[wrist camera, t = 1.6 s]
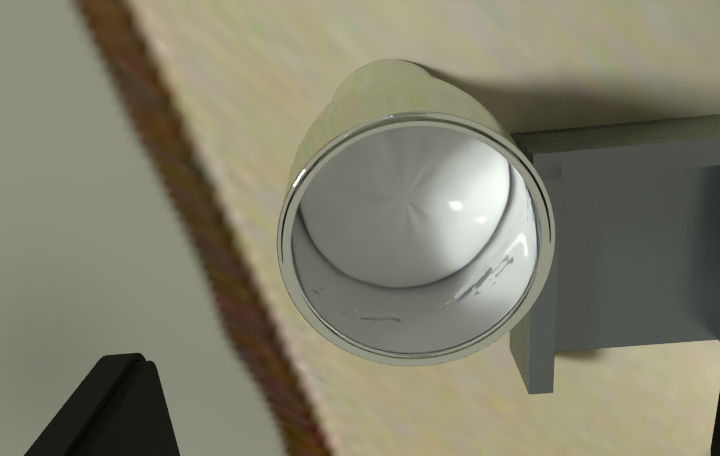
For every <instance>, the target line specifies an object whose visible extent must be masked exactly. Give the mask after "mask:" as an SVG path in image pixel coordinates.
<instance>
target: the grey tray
mask: <svg viewBox="0 0 720 456" xmlns="http://www.w3.org/2000/svg"><path fill="white" fill-rule="evenodd" d="M510 135H511V137H512V138H513V139H514V141H515V142H516V144H517V145H518V147H519V148H520V150H521V151H522V153H523V154H524V155H525V156H526V157H527V159H528V160H529V161H530V162H531V164H532V165H533V166H534V168H535V169H536V171H537V172H538V174H539V176H540V177H541V179H542V181H543V183H544V185H545V187H546V190H547V192H548V195H549V198H550V201H551V205H552V209H553V214H554V220H555V249H554V256H553V261H552V265H551V268H550V272H549V275H548V277H547V280H546V282H545V284H544V287H543V289H542V291H541V293H540V294H539V296H538V298H537V299H536V301H535V302H534V304H533V305H532V307H531V308H530V310H529V311H528V312H527V313H526V315H525V316H524V317H523V318H522V319H521V320H520V321H519V322H518V323H517V324H516V325H515V326H514V327H513V328H512V329H511V330H510V350H511V353H512V355H513V357H514V360H515V362H516V365H517V367H518V369H519V372H520V374H521V377H522V379H523V381H524V384H525V386H526V389H527V391H528V393H529V394H542V393H553V381H554V355H555V352H558V351H571V350H584V349H597V348H611V347H624V346H637V345H651V344H664V343H677V342H691V341H704V340H717V339H718V340H719V341H720V114H719V115H708V116H697V117H687V118H676V119H665V120H655V121H644V122H633V123H623V124H612V125H601V126H591V127H580V128H569V129H559V130H548V131H537V132H526V133H516V134H510Z"/></svg>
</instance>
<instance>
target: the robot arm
mask: <svg viewBox="0 0 720 456" xmlns="http://www.w3.org/2000/svg"><path fill="white" fill-rule="evenodd" d="M24 456H180V454H179V449H178V446H177V442H176V438H175V435H174V431H173V427H172V423H171V420H170V416H169V412H168V408H167V405H166V401H165V397H164V393H163V390H162V386H161V382H160V378H159V375H158V371H157V368H156V365H155V364H154V362H152V361H146V360H145V358H144V357H143V355H142V354H140V353H130V354H117V355H106V356H103V357H102V358H101V359H100V360H99V361H98V362H97V363H96V365H95V366H94V367H93V368H92V370H91V371H90V373H89V374H88V375H87V376H86V378H85V379H84V380H83V381H82V382H81V384H80V385H79V386H78V388H77V389H76V390H75V391H74V393H73V394H72V395H71V397H70V398H69V399H68V400H67V402H66V403H65V404H64V405H63V407H62V408H61V409H60V410H59V412H58V413H57V414H56V416H55V417H54V418H53V419H52V421H51V422H50V423H49V424H48V426H47V427H46V429H44V431H43V432H42V433H41V435H40V436H39V437H38V439H37V440H36V441H35V442H34V443H33V445H32V446H31V447H30V449H29V450H28V451H27V452H26V454H25V455H24ZM711 456H720V393H719V400H718V406H717V412H716V419H715V425H714V431H713V438H712V444H711Z"/></svg>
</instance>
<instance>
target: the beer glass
mask: <svg viewBox="0 0 720 456" xmlns="http://www.w3.org/2000/svg"><path fill="white" fill-rule="evenodd" d="M554 249H555V220H554V214H553V209H552V205H551V201H550V198H549V195H548V192H547V190H546V187H545V185H544V183H543V181H542V179H541V177H540V176H539V174H538V172H537V171H536V169H535V168H534V166H533V165H532V164H531V162H530V161H529V160H528V159H527V157H526V156H525V155H524V154H523V153H522V151H521V150H520V148H519V147H518V145H517V144H516V142H515V141H514V139H513V138H512V137H511V135H510V134H509V132H508V131H507V130H506V128H505V127H504V126H503V125H502V124H501V123H500V122H499V121H498V119H497V118H496V117H495V116H494V115H493V114H492V113H491V112H490V111H489V110H488V109H487V108H486V107H485V106H484V105H483V104H481V103H480V102H479V101H478V100H476V99H475V98H473V97H472V96H470V95H469V94H467V93H466V92H464V91H462V90H461V89H459V88H457V87H456V86H454V85H452V84H450V83H447V82H445V81H442V80H440V79H436V78H435V77H434V76H433V75H432V74H431V73H430V72H428V71H427V70H425V69H424V68H422V67H420V66H418V65H416V64H413V63H411V62H407V61H403V60H393V59H390V60H380V61H375V62H372V63H369V64H367V65H364V66H362V67H361V68H359V69H357V70H356V71H354V72H353V73H352V74H350V75H349V76H348V77H347V78H346V79H345V80H344V81H343V82H342V83H341V85H340V86H339V87H338V89H337V90H336V92H335V94H334V96H333V98H332V101H331V102H330V103H329V104H328V105H327V106H326V107H325V108H324V109H323V110H322V111H321V112H320V114H319V115H318V116H317V117H316V119H315V120H314V122H313V123H312V125H311V126H310V128H309V129H308V131H307V133H306V134H305V136H304V138H303V139H302V141H301V143H300V145H299V148H298V150H297V153H296V155H295V158H294V161H293V164H292V167H291V170H290V173H289V177H288V182H287V187H286V192H285V197H284V203H283V206H282V209H281V213H280V217H279V222H278V230H277V255H278V262H279V268H280V272H281V276H282V279H283V282H284V284H285V287H286V289H287V292H288V294H289V296H290V298H291V300H292V301H293V303H294V305H295V306H296V308H297V309H298V311H299V312H300V313H301V315H302V316H303V317H304V318H305V320H306V321H307V322H308V323H309V324H310V325H311V326H312V327H313V328H314V329H315V330H316V331H317V332H318V333H319V334H321V335H322V336H323V337H324V338H326V339H327V340H328V341H330V342H331V343H333V344H334V345H336V346H338V347H339V348H341V349H343V350H345V351H347V352H349V353H351V354H353V355H356V356H358V357H361V358H364V359H367V360H370V361H374V362H378V363H382V364H388V365H395V366H428V365H436V364H441V363H446V362H450V361H454V360H457V359H460V358H463V357H466V356H468V355H471V354H473V353H475V352H477V351H479V350H481V349H483V348H485V347H487V346H489V345H490V344H492V343H494V342H495V341H497V340H498V339H499V338H501V337H502V336H503V335H505V334H506V333H507V332H508V331H510V330H511V329H512V328H513V327H514V326H515V325H516V324H517V323H518V322H519V321H520V320H521V319H522V318H523V317H524V316H525V315H526V313H527V312H528V311H529V310H530V308H531V307H532V305H533V304H534V302H535V301H536V299H537V298H538V296H539V294H540V293H541V291H542V289H543V287H544V284H545V282H546V280H547V277H548V275H549V272H550V268H551V265H552V261H553V256H554Z"/></svg>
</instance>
